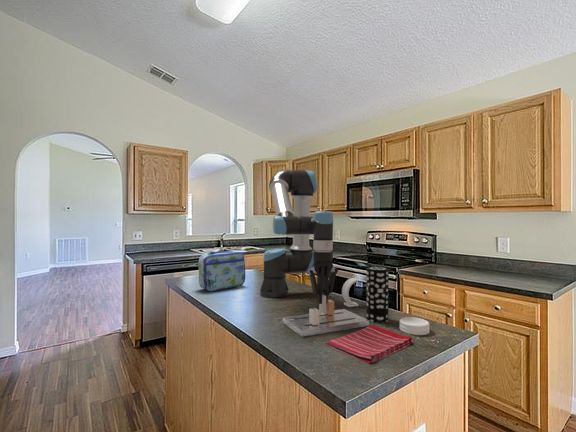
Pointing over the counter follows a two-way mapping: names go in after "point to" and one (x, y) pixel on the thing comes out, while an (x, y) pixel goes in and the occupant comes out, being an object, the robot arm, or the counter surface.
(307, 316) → the console
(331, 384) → the counter surface
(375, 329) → the dish towel
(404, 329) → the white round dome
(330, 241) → the robot arm
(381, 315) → the white-spotted black cylinder
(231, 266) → the lunch box
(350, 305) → the headphone stand
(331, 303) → the fader terracotta
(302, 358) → the counter surface
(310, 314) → the fader cream
